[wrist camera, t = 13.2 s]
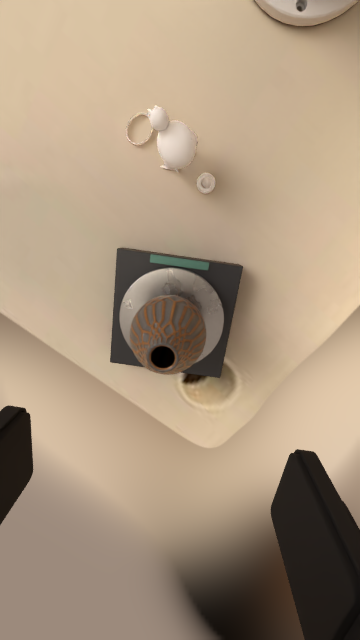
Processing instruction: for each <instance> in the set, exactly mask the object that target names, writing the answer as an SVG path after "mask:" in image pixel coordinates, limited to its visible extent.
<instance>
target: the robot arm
mask: <svg viewBox="0 0 360 640" xmlns="http://www.w3.org/2000/svg"><path fill="white" fill-rule="evenodd" d="M255 1H256V2H257V4H258V5H259V6H260V8H262V9H263V10H264V11H265V12H266V13H268V14H269V15H270V16H271V17H273V18H275V19H277V20H279V21H281V22H283V23H286V24H291V25H295V26H313V25H317V24H320V23H324V22H327V21H329V20H331V19H333V18H335V17H337V16H339V15H341V14H343V13H344V12H345V11H346V10H348V9H349V8H350V7H352V6H353V5H354V4H356V3H357V1H358V0H255ZM32 473H33V458H32V439H31V420H30V414H29V413H27V412H26V409H25V408H21V407H14V406H6V407H4V408H3V409H2V410H1V411H0V524H1V523H2V521H3V520H4V518H5V517H6V515H7V514H8V512H9V511H10V509H11V508H12V506H13V505H14V503H15V502H16V500H17V499H18V497H19V496H20V494H21V493H22V491H23V490H24V488H25V487H26V485H27V483H28V482H29V480H30V478H31V476H32ZM271 517H272V521H273V525H274V528H275V532H276V536H277V539H278V543H279V546H280V550H281V554H282V558H283V561H284V565H285V569H286V572H287V576H288V580H289V583H290V587H291V591H292V594H293V598H294V601H295V605H296V609H297V613H298V616H299V620H300V624H301V627H302V631H303V635H304V638H305V640H360V529H359V528H358V526H357V524H356V522H355V521H354V519H353V517H352V515H351V513H350V512H349V510H348V508H347V506H346V505H345V503H344V502H343V501H342V500H341V498H340V496H339V495H338V493H337V491H336V489H335V487H334V486H333V484H332V482H331V480H330V478H329V477H328V475H327V473H326V471H325V469H324V467H323V466H322V464H321V462H320V460H319V458H318V456H317V455H316V453H314V452H311V451H305V450H298V449H297V450H296V451H295V452H294V453H291V454H290V455H289V458H288V461H287V463H286V466H285V469H284V472H283V474H282V477H281V480H280V483H279V486H278V488H277V491H276V494H275V497H274V500H273V502H272V505H271Z"/></svg>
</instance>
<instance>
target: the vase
mask: <svg viewBox="0 0 360 640" xmlns="http://www.w3.org/2000/svg"><path fill="white" fill-rule="evenodd" d="M205 342H206V326H205V322H204V319H203V317H202V315H201V313H200V311H199V310H198V308H197V307H196V306H195V305H194V304H193V303H191V302H190V301H189V300H187V299H185V298H183V297H180V296H176V295H162V296H158V297H155V298H152V299H151V300H149V301H147V302H146V303H145V304H144V305H143V306H142V307H141V308H140V309H139V310H138V311H137V313H136V314H135V316H134V318H133V320H132V323H131V327H130V343H131V347H132V350H133V353H134V355H135V356H136V358H137V359H138V361H139V362H140V363H141V364H142V365H143V366H144V367H146V368H147V369H149V370H151V371H153V372H156V373H160V374H175V373H179V372H182V371H184V370H186V369H187V368H189V367H190V366H192V365H193V364H194V363H195V362H196V361H197V359H198V358H199V357H200V355H201V353H202V351H203V349H204V346H205Z"/></svg>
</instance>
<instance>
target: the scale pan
mask: <svg viewBox="0 0 360 640" xmlns="http://www.w3.org/2000/svg"><path fill="white" fill-rule="evenodd" d="M162 295H176V296H180V297H183V298H185V299H187V300H189V301H190V302H191V303H193V304H194V305H195V306H196V307H197V308H198V310H199V311H200V313H201V315H202V317H203V319H204V322H205V326H206V342H205V346H204V349H203V351H202V353H201V355H200V357H199V358H198V359H197V361H196V362H195V363H197V362H198V361H200V360H202V359H203V358H205V357H206V356H207V355H208V354H209V353H210V352H211V351H212V350H213V349H214V348H215V346H216V345H217V343H218V341H219V339H220V337H221V334H222V331H223V326H224V313H223V307H222V304H221V301H220V299H219V297H218V295H217V293H216V291H215V290H214V288H213V287H212V286H211V285H210V284H209V283H208V282H207V281H206V280H205V279H204V278H202V277H201V276H199V275H198V274H196V273H194V272H192V271H189V270H186V269H182V268H175V267H167V268H160V269H156V270H153V271H150V272H148V273H146V274H144V275H143V276H141V277H140V278H139V279H137V280H136V281H135V282H134V283H133V284H132V285H131V286H130V288H129V289H128V290H127V292H126V294H125V295H124V298H123V300H122V303H121V307H120V313H119V320H120V327H121V331H122V334H123V336H124V339H125V340H126V342H127V344H128V345H129V347H130V348H131V349H132V347H131V343H130V327H131V323H132V320H133V318H134V316H135V314H136V313H137V311H138V310H139V309H140V308H141V307H142V306H143V305H144V304H145V303H146V302H147V301H149V300H151V299H152V298H155V297H158V296H162Z"/></svg>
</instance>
